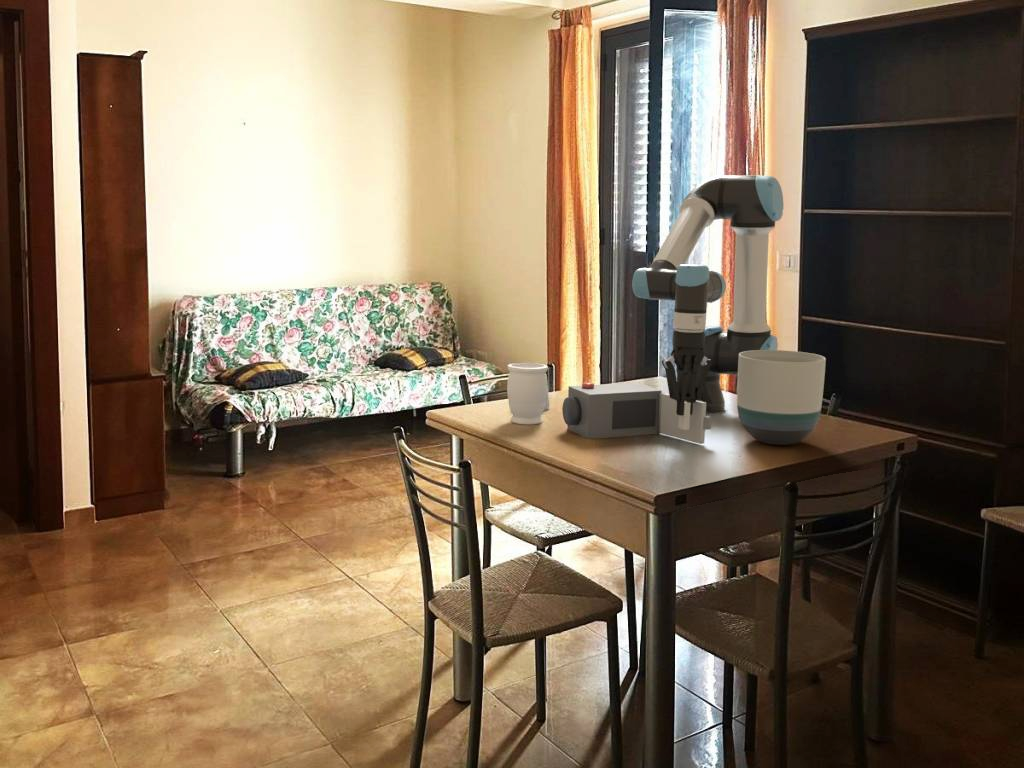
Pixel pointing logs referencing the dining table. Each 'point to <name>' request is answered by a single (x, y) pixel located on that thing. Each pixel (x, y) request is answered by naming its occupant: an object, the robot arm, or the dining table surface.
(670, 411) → the door
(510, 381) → the jar
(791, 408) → the planter
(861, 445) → the dining table surface
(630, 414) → the camera body
